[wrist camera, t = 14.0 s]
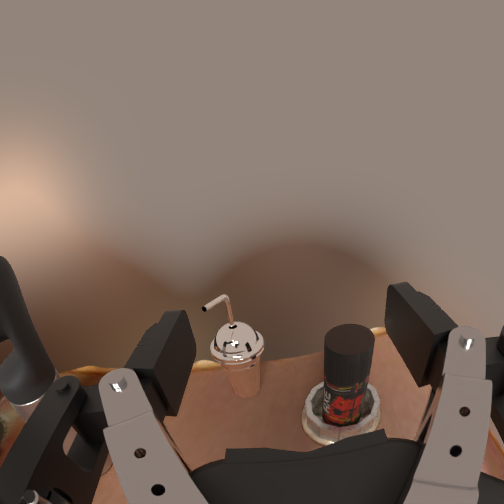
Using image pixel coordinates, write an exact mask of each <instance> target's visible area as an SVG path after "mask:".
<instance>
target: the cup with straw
mask: <svg viewBox="0 0 504 504" xmlns="http://www.w3.org/2000/svg"><path fill="white" fill-rule="evenodd" d="M223 300H224V301H225V305H226V309H227V314H228V318H229V323H227V324H225V325H223V326H222V327H221V328H220V329H219V330H218V331H217V333H216V336H215V339H214V340H213V341H212V343H211V347H210V349H211V350H210V352H211V356H212V357H213V358H214V359H215V360H216V361H217V362H219V363H220V364H221V366H222V367H223V368H224V370H225V373H226V375H227V377H228V379H229V381H230V383H231V385H232V388H233V390H234V391H235V394H236V395H237V396H239V397H241V398H250V397H253V396H255V395H256V394H258V392H259V391H260V362H259V361H260V355H261V353H262V352H263V350H264V347H265V341H264V339H263V337H262V335H261V334H260V333H259V332H257V331H255V330H254V329H253V328H252V327H251V326H250V325H248V324H246V323H244V322H238V321H235V322H234V320H233V315H232V311H231V306H230V301H229V298H228V296H227V295H221V296H220V297H218V298H216V299H215V300H213V301H212V302H210V303H208V304H207V305H205V306H203V307H202V310H203V311H204V312H205V311H207V310H209V309H210V308H212V307H213V306H215V305H217V304H218V303H220V302H221V301H223Z"/></svg>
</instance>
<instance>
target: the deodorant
mask: <svg viewBox="0 0 504 504" xmlns="http://www.w3.org/2000/svg"><path fill="white" fill-rule="evenodd" d="M374 341H375V338H374V334H373V333H372V331H371V330H369V329H368V328H366V327H364V326H361V325H357V324H344V325H339V326H337V327H334V328H333V329H331V330H330V331H329V332H327V334H326V336H325V346H324V347H325V348H324V388H323V409H322V418H323V421H324V423H325V424H328V425H332V426H336V427H345V426H350V425H354V424H357V423H358V421H359V420H360V417H361V414H362V409H363V405H364V400H365V395H366V390H367V385H368V380H369V374H370V368H371V362H372V356H373V349H374Z"/></svg>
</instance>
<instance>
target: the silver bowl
mask: <svg viewBox="0 0 504 504" xmlns="http://www.w3.org/2000/svg"><path fill="white" fill-rule="evenodd" d="M323 388H324V381H323V382H322V383H320V384H318V385H317V386H315V387H313V389H312V390H311V392H310V394H309V395H308V397H307V399H306V400H305V406H304V408H303V411H302V426H303V429H304V431H305V433H306V434H307V436H308V437H309V438H310V439H311V440H313V441H314V442H316V443H318V444H320V445H322V446H327V445H329V444H332V443H334V442H337V441H339V440H342V439H344V438H347V437H351V436H355V435H360V434H364V433H368V432H372V431H375V429H376V428H377V426H378V423H379V419H380V407H379V404H380V399H379V396H378V394H377V391H376V389H375V387H373V386H372V385H370V384H369V383H368V385H367V390H366V395H365V400H364V405H363V409H362V414H361V417H360V420H359V421H358V423H357V424H354V425H350V426H345V427H336V426H332V425H328V424H325V423H324V421H323V418H322V409H323Z"/></svg>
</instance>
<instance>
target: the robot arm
mask: <svg viewBox="0 0 504 504" xmlns="http://www.w3.org/2000/svg"><path fill="white" fill-rule="evenodd" d="M385 328H386V332H387V334H388V335H389V337H390V339H391V340H392V342H393V344H394V345H395V347H396V349H397V350H398V352H399V354H400V355H401V357H402V359H403V361H404V362H405V364H406V366H407V367H408V369H409V371H410V373H411V375H412V376H413V378H414V380H415V382H416V384H417V385H418V387H422V386H425V385H428V384H430V385H431V387H432V388H431V391H430V394H429V397H428V400H427V404H426V407H425V410H424V413H423V416H422V419H421V422H420V425H419V428H418V431H417V433H416V436H415V438H414V440H409V439H402V438H387V437H386V434H385V431H384V429H380V430H376V431H372V432H368V433H364V434H360V435H355V436H351V437H347V438H344V439H342V440H339V441H337V442H334V443H332V444H329V445H327V446H324V447H322V448H319V449H316V450H313V451H310V452H296V451H286V450H278V449H270V448H246V449H226V454H225V459H221V460H217V461H214V462H210V463H208V464H205V465H203V466H201V467H199V468H196V469H195V470H192V468H191V467H190V465H189V464H188V463H187V461H186V460H185V458H184V456H183V455H182V453H181V452H180V450H179V448H178V447H177V445H176V443H175V442H174V440H173V438H172V437H171V435H170V433H169V431H168V430H167V428H166V426H165V424H164V423H163V421H164V418H165V416H177V414H178V411H179V407H180V404H181V401H182V398H183V395H184V391H185V388H186V385H187V382H188V379H189V376H190V372H191V369H192V366H193V363H194V360H195V357H196V343H195V339H194V336H193V333H192V330H191V326H190V323H189V319H188V316H187V314H186V311H185V310H173V311H166V312H165V313H164V314H163V316H162V318H161V320H160V321H159V323H156V324H154V325H153V326H151V327H150V328H149V329H148V330H147V331H146V332H145V334H144V335H143V337H142V339H141V340H140V342H139V344H138V345H137V347H136V348H135V350H134V351H133V353H132V355H131V357H130V358H129V360H128V361H127V363H126V365H125V366H124V368H119V369H115V370H113V371H110V372H109V373H107V374H106V375H105V376H104V377H103V378H102V379H101V380H100V383H99V385H93V386H86V387H83V386H82V385H81V383H80V382H79V380H78V379H77V378H76V377H74V376H64V377H60V375H59V374H58V372H57V371H56V369H55V367H54V365H53V364H52V362H51V360H50V358H49V356H48V354H47V353H46V350H45V348H44V347H43V344H42V342H41V340H40V338H39V336H38V334H37V332H36V330H35V327H34V325H33V323H32V320H31V318H30V315H29V313H28V310H27V307H26V304H25V302H24V299H23V296H22V293H21V290H20V287H19V284H18V281H17V279H16V276H15V274H14V271H13V269H12V268H11V265H10V264H9V262H8V261H7V260H6V259H5V258H4V257H2V256H0V342H2V341H4V340H7V339H9V338H10V340H11V341H12V343H13V346H14V349H13V351H12V352H11V353H10V355H9V356H8V357H7V358H6V359H5V361H4V362H3V363H2V364H1V366H0V390H1V391H2V393H3V394H4V395H5V397H6V398H7V400H8V401H9V402H10V403H11V405H12V406H13V407H14V409H15V410H16V411H17V413H18V414H19V415H20V416H21V418H22V419H23V420H24V421H25V422H26V424H25V425H24V427H23V429H22V430H21V432H20V434H19V435H18V437H17V439H16V441H15V442H14V444H13V446H12V448H11V449H10V451H9V453H8V455H7V457H6V458H5V460H4V462H3V464H2V466H1V468H0V504H92V501H93V498H94V495H95V491H96V488H97V485H98V482H99V479H100V477H101V475H103V474H104V473H105V472H107V471H108V469H109V468H110V467H111V465H112V463H113V465H114V468H115V471H116V473H117V476H118V479H119V481H120V484H121V486H122V489H123V491H124V494H125V496H126V498H127V501H128V503H129V504H504V481H503V480H500V479H498V478H495V477H493V476H490V475H488V474H486V473H483V472H481V468H482V463H483V459H484V454H485V449H486V443H487V437H488V430H489V423H490V417H491V419H492V421H493V423H494V424H495V426H496V428H497V430H498V432H499V434H500V436H501V438H502V441H503V443H504V326H503V328H502V330H501V333H500V336H499V337H490V338H485V337H484V335H483V334H482V333H481V332H480V331H478V330H477V329H475V328H472V327H467V326H461V327H458V325H457V324H456V323H455V322H453V320H452V319H451V318H450V317H449V316H448V315H447V314H446V313H445V312H444V311H443V310H441V308H440V307H439V306H438V305H436V303H435V302H434V301H433V300H432V299H431V298H430V297H429V296H427V295H425V294H423V293H421V292H417V291H416V290H415V289H414V288H413V287H412V286H411V285H410V284H409V283H407V282H403V283H397V284H391V285H389V286H388V289H387V300H386V310H385Z"/></svg>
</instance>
